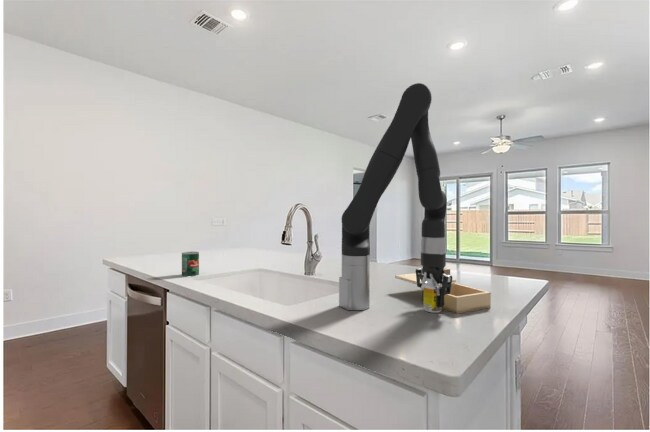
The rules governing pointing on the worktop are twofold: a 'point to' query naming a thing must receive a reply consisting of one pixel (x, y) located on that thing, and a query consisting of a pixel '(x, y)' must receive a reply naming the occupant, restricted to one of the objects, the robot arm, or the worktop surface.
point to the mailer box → (466, 299)
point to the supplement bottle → (430, 297)
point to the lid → (412, 277)
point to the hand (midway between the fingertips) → (432, 304)
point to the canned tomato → (190, 263)
